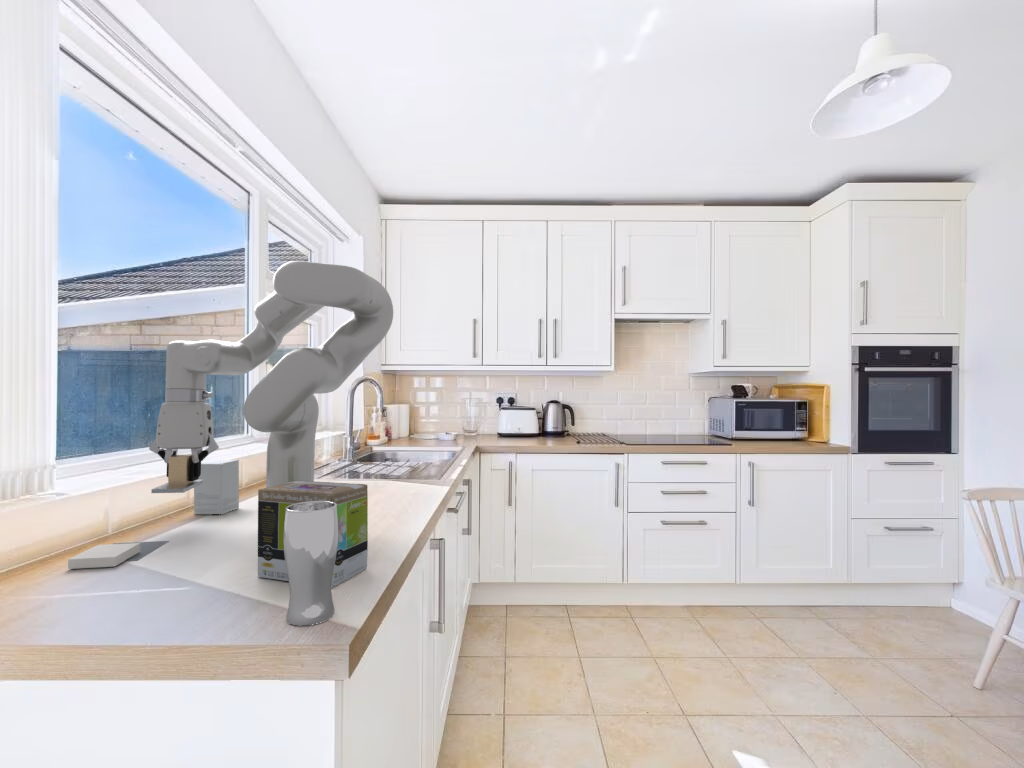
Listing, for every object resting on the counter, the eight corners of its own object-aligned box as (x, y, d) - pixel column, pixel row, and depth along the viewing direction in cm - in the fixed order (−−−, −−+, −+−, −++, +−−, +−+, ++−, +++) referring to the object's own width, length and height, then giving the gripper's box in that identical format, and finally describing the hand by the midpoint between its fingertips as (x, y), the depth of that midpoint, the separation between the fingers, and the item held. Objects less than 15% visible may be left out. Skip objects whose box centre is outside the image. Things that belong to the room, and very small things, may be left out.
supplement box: (239, 508, 131) (240, 459, 131) (220, 515, 124) (221, 463, 124) (213, 507, 132) (213, 459, 132) (192, 514, 124) (192, 463, 125)
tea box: (369, 569, 87) (370, 483, 88) (330, 590, 78) (331, 494, 78) (299, 559, 92) (299, 477, 92) (254, 578, 83) (255, 487, 83)
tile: (97, 545, 93) (68, 559, 85) (140, 543, 94) (115, 557, 86) (97, 554, 93) (67, 570, 85) (140, 552, 94) (114, 567, 86)
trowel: (183, 492, 105) (184, 459, 105) (151, 493, 104) (152, 460, 104) (203, 483, 115) (204, 453, 115) (174, 483, 114) (174, 453, 114)
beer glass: (284, 632, 64) (285, 514, 64) (281, 611, 70) (282, 503, 71) (341, 621, 67) (342, 508, 68) (333, 601, 74) (334, 498, 74)
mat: (169, 542, 102) (169, 540, 102) (137, 562, 90) (137, 560, 90) (113, 544, 100) (113, 543, 100) (73, 565, 88) (73, 563, 88)
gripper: (232, 397, 117) (230, 476, 117) (152, 396, 114) (150, 477, 114) (220, 398, 110) (218, 483, 110) (134, 396, 107) (132, 484, 107)
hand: (183, 479), depth 112 cm, fingers closed on trowel, 3 cm apart
